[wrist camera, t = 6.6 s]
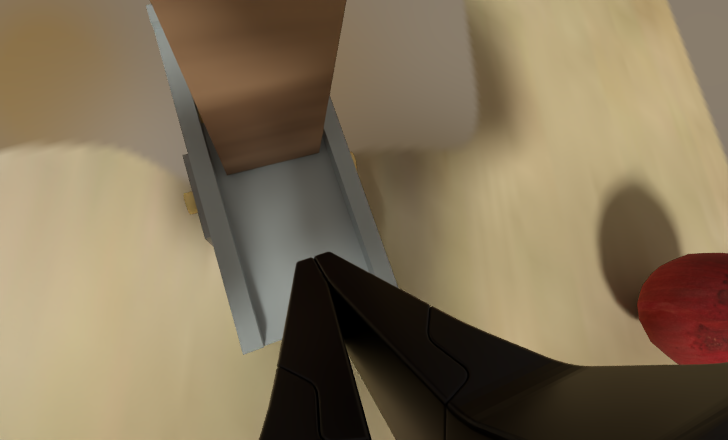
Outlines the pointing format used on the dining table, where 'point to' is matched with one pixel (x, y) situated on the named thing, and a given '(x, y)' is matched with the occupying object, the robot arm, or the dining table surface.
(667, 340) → the red oval piece
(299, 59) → the brown rectangular block
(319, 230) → the grey piece
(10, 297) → the dining table surface
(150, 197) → the dining table surface
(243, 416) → the dining table surface
